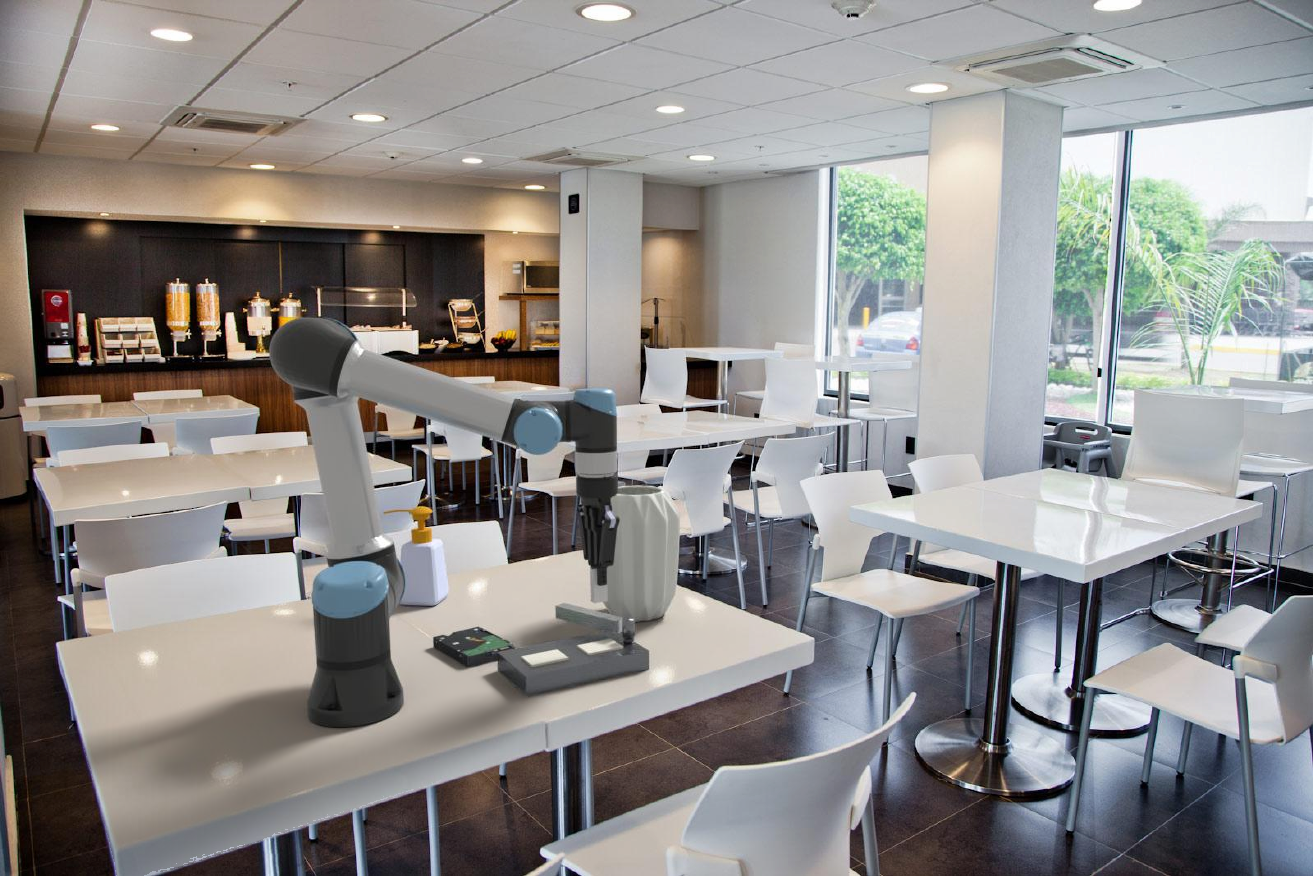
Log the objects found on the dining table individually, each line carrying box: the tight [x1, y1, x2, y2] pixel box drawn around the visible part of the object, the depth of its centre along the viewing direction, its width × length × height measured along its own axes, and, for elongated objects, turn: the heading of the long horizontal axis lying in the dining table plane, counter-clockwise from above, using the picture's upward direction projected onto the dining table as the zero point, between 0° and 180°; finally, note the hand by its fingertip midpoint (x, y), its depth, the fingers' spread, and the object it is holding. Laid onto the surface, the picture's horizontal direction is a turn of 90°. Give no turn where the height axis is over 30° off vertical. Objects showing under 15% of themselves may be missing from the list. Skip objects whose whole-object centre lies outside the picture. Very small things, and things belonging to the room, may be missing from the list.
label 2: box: [577, 639, 623, 655], centre depth 168 cm, size 7×5×1 cm
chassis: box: [497, 630, 650, 697], centre depth 166 cm, size 24×14×4 cm, turn 120°
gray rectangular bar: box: [555, 602, 636, 638], centre depth 176 cm, size 19×2×3 cm, turn 51°
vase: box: [602, 485, 681, 623], centre depth 198 cm, size 20×20×27 cm
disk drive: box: [432, 626, 516, 669], centre depth 177 cm, size 10×3×15 cm
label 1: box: [521, 649, 569, 667], centre depth 162 cm, size 7×5×1 cm
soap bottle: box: [382, 505, 450, 607], centre depth 210 cm, size 10×14×22 cm
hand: (599, 601), depth 167 cm, fingers closed
